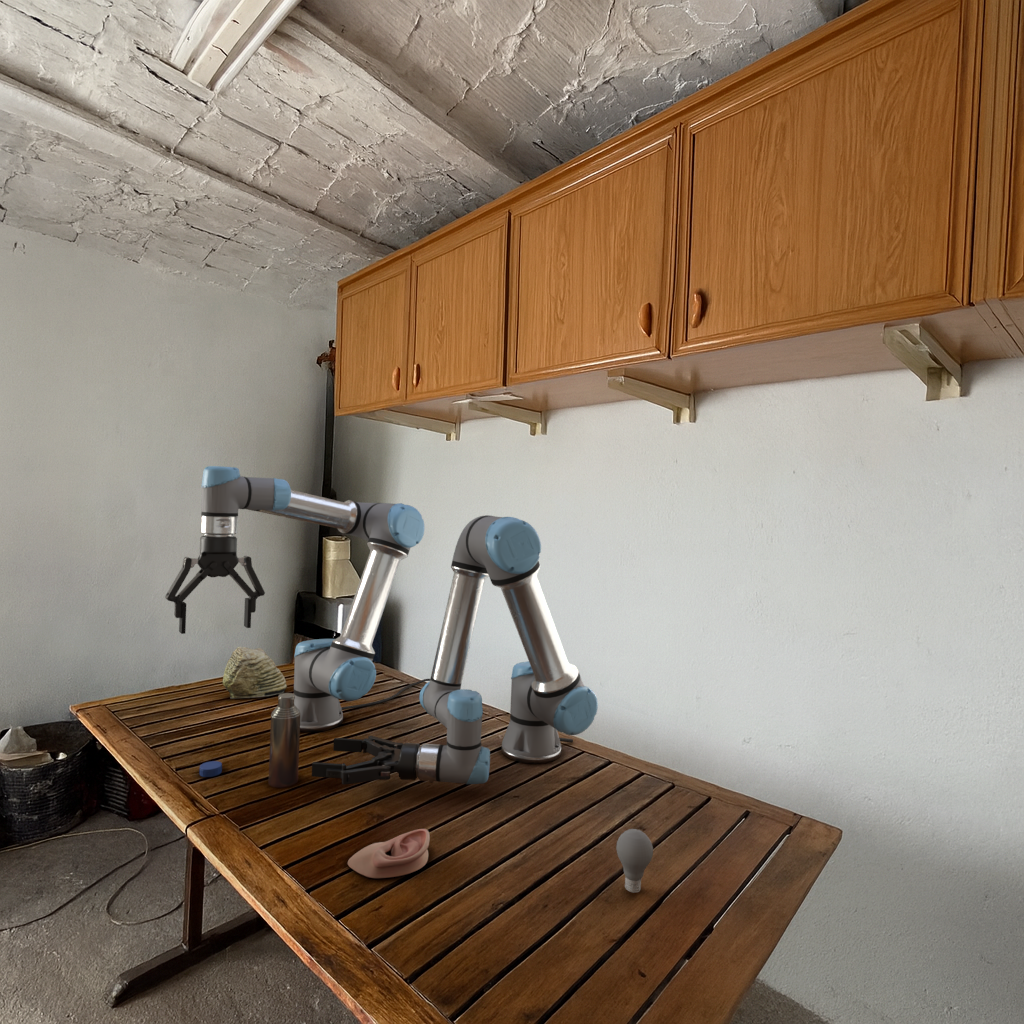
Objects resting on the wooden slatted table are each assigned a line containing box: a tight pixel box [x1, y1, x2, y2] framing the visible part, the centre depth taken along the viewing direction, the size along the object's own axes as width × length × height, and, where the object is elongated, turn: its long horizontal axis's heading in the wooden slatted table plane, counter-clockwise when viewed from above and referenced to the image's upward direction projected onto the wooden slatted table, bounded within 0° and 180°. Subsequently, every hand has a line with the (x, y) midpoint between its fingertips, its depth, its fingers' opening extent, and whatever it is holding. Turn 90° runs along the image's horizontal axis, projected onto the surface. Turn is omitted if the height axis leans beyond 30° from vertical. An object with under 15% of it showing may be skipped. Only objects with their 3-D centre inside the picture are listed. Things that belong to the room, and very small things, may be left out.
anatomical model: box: [347, 828, 431, 879], centre depth 111 cm, size 13×4×12 cm
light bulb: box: [615, 828, 654, 894], centre depth 106 cm, size 6×6×10 cm
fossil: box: [222, 646, 288, 699], centre depth 198 cm, size 9×18×15 cm, turn 132°
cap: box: [198, 760, 223, 778], centre depth 143 cm, size 5×5×2 cm
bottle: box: [268, 692, 301, 788], centre depth 140 cm, size 6×6×19 cm
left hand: (215, 629), depth 142 cm, fingers open, 13 cm apart
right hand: (323, 756), depth 140 cm, fingers open, 13 cm apart
